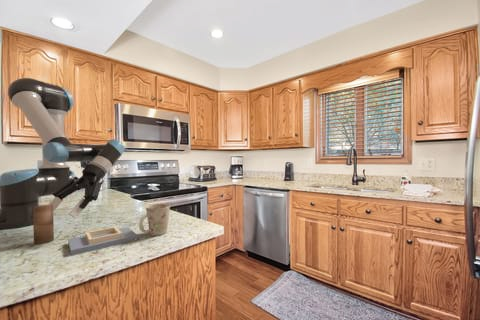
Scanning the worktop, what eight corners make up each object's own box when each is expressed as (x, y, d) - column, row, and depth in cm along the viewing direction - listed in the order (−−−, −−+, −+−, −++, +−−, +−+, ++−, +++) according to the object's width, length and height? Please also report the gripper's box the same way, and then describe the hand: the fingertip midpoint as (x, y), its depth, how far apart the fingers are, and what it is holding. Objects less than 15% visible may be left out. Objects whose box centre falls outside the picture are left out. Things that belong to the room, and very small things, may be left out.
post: (34, 241, 73) (33, 206, 73) (53, 237, 76) (53, 203, 76) (33, 245, 69) (32, 208, 69) (53, 241, 73) (53, 206, 73)
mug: (174, 230, 83) (174, 204, 83) (150, 242, 71) (149, 212, 71) (157, 228, 86) (157, 203, 86) (131, 239, 74) (131, 210, 74)
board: (68, 243, 71) (68, 234, 71) (128, 230, 83) (128, 223, 83) (71, 255, 62) (70, 245, 62) (137, 239, 74) (137, 230, 74)
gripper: (126, 175, 88) (92, 222, 74) (81, 175, 96) (43, 218, 82) (114, 162, 83) (76, 211, 69) (68, 163, 91) (25, 207, 77)
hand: (58, 215), depth 75 cm, fingers open, 13 cm apart
